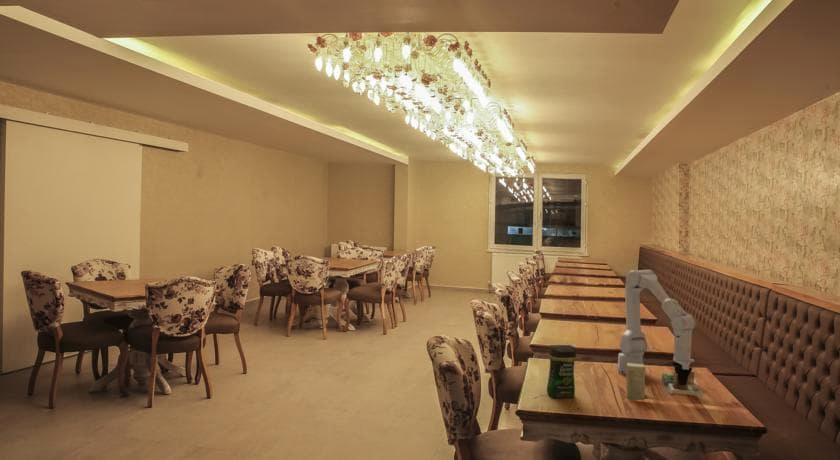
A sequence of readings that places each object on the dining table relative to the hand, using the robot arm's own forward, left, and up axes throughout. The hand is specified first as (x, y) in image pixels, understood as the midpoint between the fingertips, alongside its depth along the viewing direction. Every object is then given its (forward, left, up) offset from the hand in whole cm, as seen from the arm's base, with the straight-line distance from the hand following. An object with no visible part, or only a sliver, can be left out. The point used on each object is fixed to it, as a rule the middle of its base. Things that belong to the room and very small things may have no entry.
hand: (681, 383), depth 204 cm
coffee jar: (-43, -16, -4) cm, 46 cm away
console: (-3, +8, -3) cm, 9 cm away
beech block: (+3, +8, -3) cm, 9 cm away
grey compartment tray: (+1, +4, -4) cm, 5 cm away
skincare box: (-17, -10, -4) cm, 20 cm away
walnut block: (0, 0, -3) cm, 3 cm away
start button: (-3, +8, -2) cm, 9 cm away
